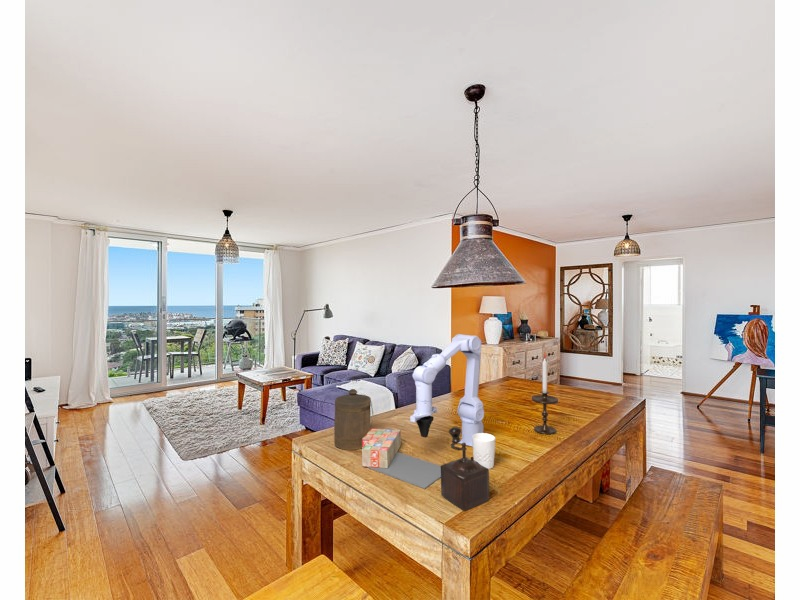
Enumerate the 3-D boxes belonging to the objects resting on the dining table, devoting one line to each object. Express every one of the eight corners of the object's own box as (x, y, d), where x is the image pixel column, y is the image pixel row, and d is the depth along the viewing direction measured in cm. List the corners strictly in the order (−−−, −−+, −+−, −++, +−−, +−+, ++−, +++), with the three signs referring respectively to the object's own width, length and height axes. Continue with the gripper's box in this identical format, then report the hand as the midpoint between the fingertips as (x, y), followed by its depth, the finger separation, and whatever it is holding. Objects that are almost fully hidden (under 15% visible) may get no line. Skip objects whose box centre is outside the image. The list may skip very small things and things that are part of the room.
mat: (396, 452, 145) (396, 451, 145) (451, 470, 130) (451, 468, 130) (368, 468, 132) (367, 466, 132) (424, 489, 118) (424, 487, 118)
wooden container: (378, 440, 157) (377, 387, 157) (355, 453, 145) (355, 396, 144) (350, 433, 165) (350, 383, 165) (326, 445, 153) (326, 390, 152)
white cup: (468, 465, 134) (467, 437, 134) (480, 458, 139) (480, 431, 139) (487, 472, 128) (487, 443, 128) (499, 465, 134) (499, 436, 134)
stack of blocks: (387, 450, 131) (353, 448, 133) (388, 468, 131) (354, 466, 133) (400, 429, 152) (370, 428, 154) (401, 444, 152) (371, 443, 154)
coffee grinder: (491, 500, 111) (491, 438, 111) (463, 512, 105) (463, 447, 105) (456, 478, 124) (455, 424, 124) (429, 488, 118) (429, 431, 118)
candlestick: (560, 436, 160) (560, 353, 160) (533, 434, 162) (533, 353, 162) (555, 427, 171) (555, 349, 170) (530, 426, 173) (529, 349, 173)
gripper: (426, 393, 147) (426, 428, 147) (403, 402, 135) (403, 440, 135) (441, 396, 142) (441, 432, 143) (419, 405, 131) (419, 444, 131)
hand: (424, 436), depth 139 cm, fingers closed
